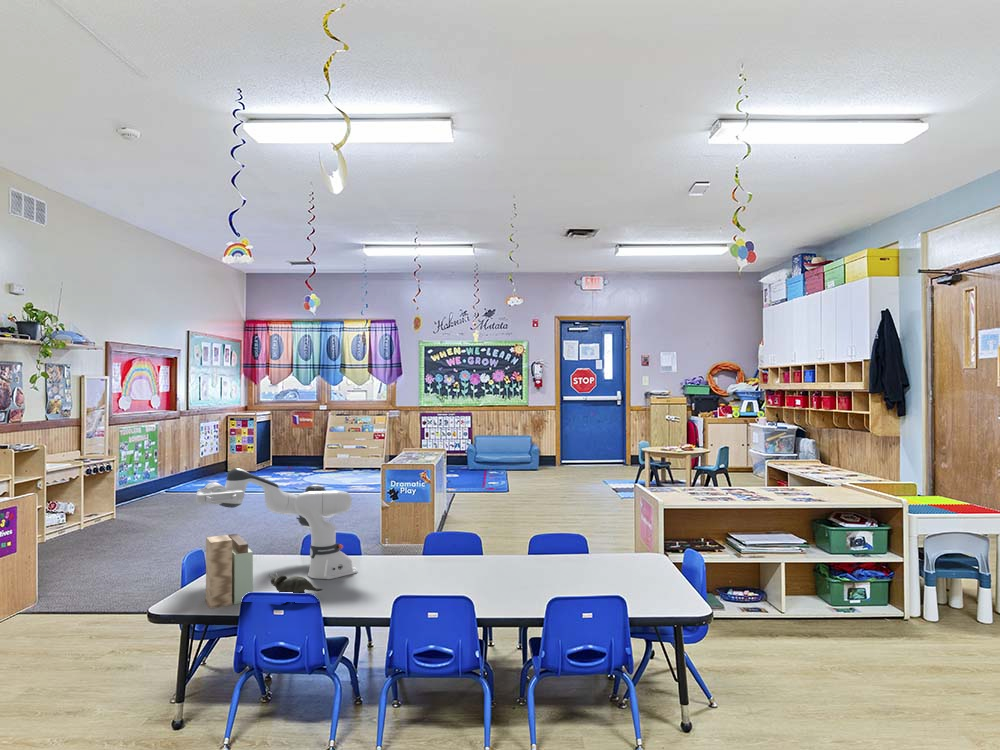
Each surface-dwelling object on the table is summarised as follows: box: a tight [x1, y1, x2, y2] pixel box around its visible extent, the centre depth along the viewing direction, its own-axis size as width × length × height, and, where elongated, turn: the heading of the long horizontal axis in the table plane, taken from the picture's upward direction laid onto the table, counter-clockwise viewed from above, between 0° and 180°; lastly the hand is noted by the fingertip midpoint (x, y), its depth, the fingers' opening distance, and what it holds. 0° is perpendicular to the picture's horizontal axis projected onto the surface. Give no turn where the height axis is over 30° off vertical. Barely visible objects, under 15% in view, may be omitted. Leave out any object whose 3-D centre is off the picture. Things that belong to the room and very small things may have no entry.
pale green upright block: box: [232, 547, 254, 605], centre depth 269 cm, size 7×14×20 cm, turn 33°
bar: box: [228, 533, 249, 554], centre depth 272 cm, size 4×22×4 cm, turn 33°
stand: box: [205, 534, 234, 610], centre depth 263 cm, size 8×11×26 cm
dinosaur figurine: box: [268, 571, 323, 594], centre depth 264 cm, size 22×8×11 cm, turn 90°
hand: (223, 498), depth 288 cm, fingers open, 8 cm apart
